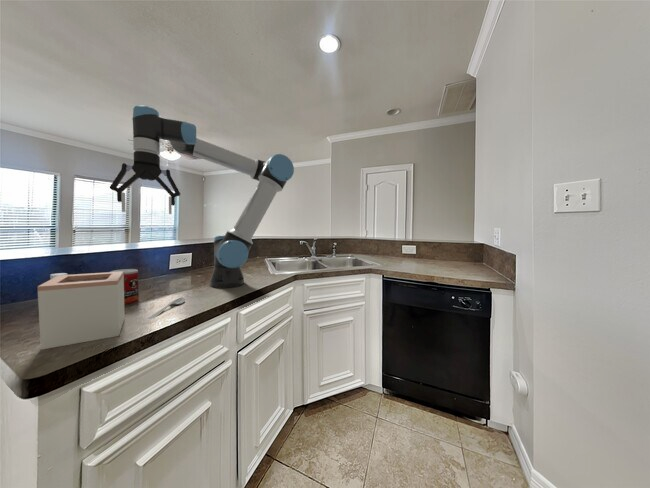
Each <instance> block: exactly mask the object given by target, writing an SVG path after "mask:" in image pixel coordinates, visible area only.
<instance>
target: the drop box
mask: <svg viewBox="0 0 650 488" xmlns="http://www.w3.org/2000/svg"><path fill="white" fill-rule="evenodd" d="M37 305H38V323H39V339H40V341H39V343H40V344H39V345H40V350H47V349H48V350H49V349H52V348H57V347H58V348H59V347H64V346H69V345H74V344H81V343H86V342H91V341H97V340H103V339H109V338H114V337H119V336H120V333H121V330H122V328H123V325H124V322H125V318H126V316H125V313H126V311H125V304H124V272H111V271H108V272H94V273H93V272H91V273H77V274H74V273H73V274H68V275H58V276H56V277H54V278H52V279H49V280H47V281H45V282H43V283H41V284H39V285H38V286H37Z"/></svg>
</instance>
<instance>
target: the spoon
mask: <svg viewBox="0 0 650 488" xmlns="http://www.w3.org/2000/svg"><path fill="white" fill-rule="evenodd" d="M185 301H186V300H185V298H184V297H179V298H176V299H174V300H173V301H171V302H169V303H168V304H167V305H165V306H164V307H163V308H161V309H159V310H158V311H156V312H155V313H153V314H152V315H150V316H149V317H147V320H152V319H154V318H157V317H158V316H159V315H161V313H162V312H164V311H165V310H166V309H167V308H168V307H170V306H171V305H173V306H176V305H181V304H184V302H185Z"/></svg>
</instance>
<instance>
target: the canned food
mask: <svg viewBox="0 0 650 488" xmlns="http://www.w3.org/2000/svg"><path fill="white" fill-rule="evenodd" d="M110 272H124V305H127V304H132V303H135V302H137V301H138V300H139V299H140V298H139V297H140V296H139V295H140V292H139V291H140V289H139V285H140V284H139V283H140V282H139V270H138V269H136V268H124V269H123V268H122V269H116V270H115V269H114V270H110Z"/></svg>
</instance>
